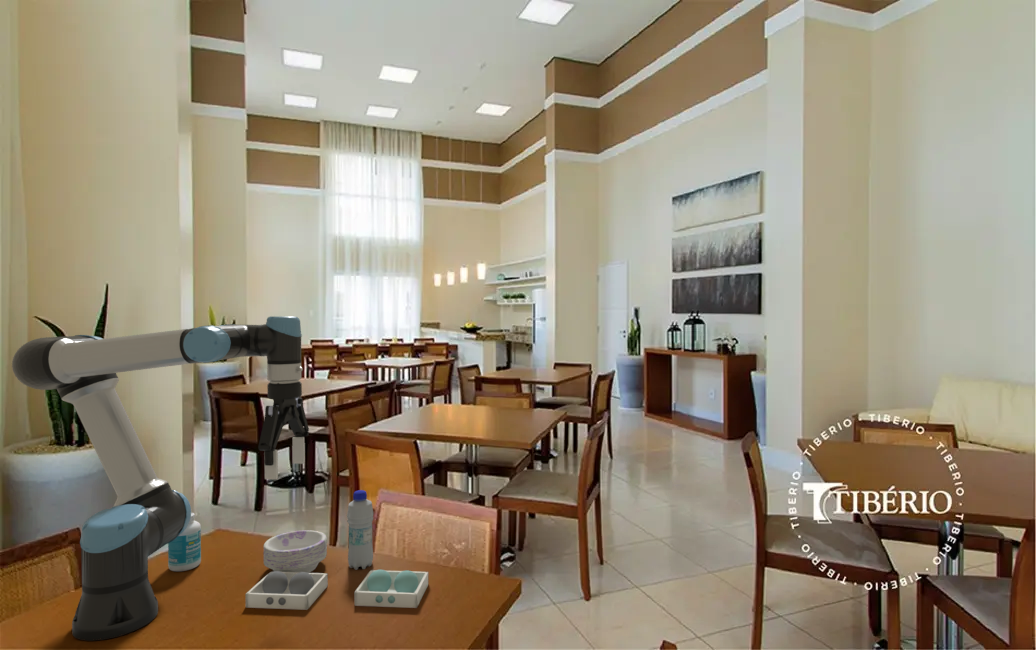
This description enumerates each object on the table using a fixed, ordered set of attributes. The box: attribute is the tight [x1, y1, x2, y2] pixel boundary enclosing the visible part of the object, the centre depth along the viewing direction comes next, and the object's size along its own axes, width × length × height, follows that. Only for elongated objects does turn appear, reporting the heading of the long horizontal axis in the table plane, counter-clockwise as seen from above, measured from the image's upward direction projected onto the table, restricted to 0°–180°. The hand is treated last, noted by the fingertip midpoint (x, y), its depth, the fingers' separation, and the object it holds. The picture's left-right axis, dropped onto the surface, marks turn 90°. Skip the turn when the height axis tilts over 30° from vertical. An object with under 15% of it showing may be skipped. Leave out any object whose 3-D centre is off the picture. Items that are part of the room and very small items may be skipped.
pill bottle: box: [167, 512, 202, 572], centre depth 151 cm, size 8×7×14 cm
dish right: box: [353, 569, 429, 609], centre depth 135 cm, size 14×11×4 cm
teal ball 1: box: [367, 568, 391, 592], centre depth 135 cm, size 6×6×6 cm
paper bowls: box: [262, 529, 328, 573], centre depth 149 cm, size 15×15×8 cm
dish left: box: [245, 571, 329, 611], centre depth 134 cm, size 14×12×4 cm
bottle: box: [346, 489, 375, 571], centre depth 151 cm, size 7×7×20 cm
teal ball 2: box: [394, 569, 418, 593], centre depth 135 cm, size 6×6×6 cm
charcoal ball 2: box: [289, 572, 314, 595], centre depth 134 cm, size 6×6×6 cm
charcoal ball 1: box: [262, 571, 288, 594], centre depth 134 cm, size 6×6×6 cm
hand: (285, 470), depth 137 cm, fingers open, 13 cm apart
